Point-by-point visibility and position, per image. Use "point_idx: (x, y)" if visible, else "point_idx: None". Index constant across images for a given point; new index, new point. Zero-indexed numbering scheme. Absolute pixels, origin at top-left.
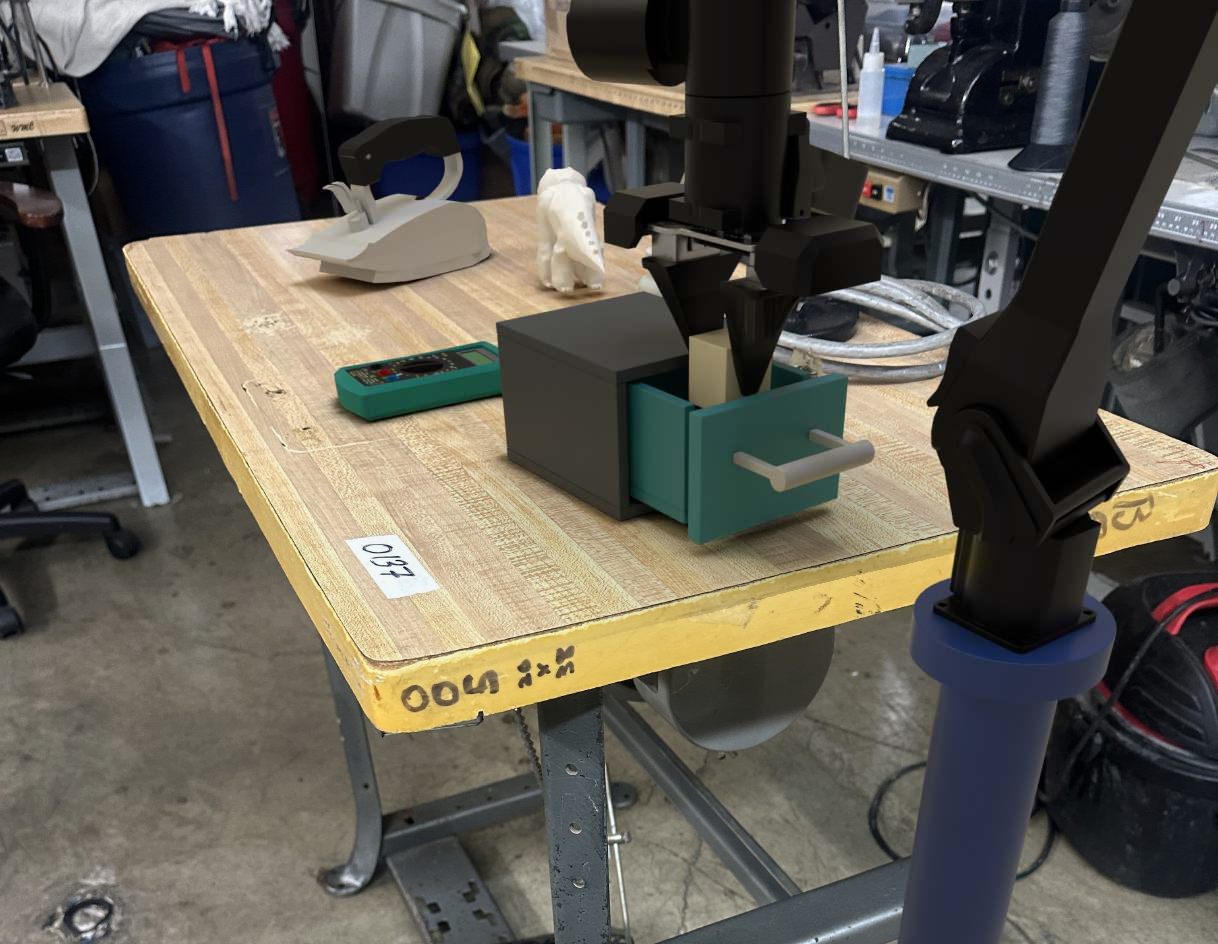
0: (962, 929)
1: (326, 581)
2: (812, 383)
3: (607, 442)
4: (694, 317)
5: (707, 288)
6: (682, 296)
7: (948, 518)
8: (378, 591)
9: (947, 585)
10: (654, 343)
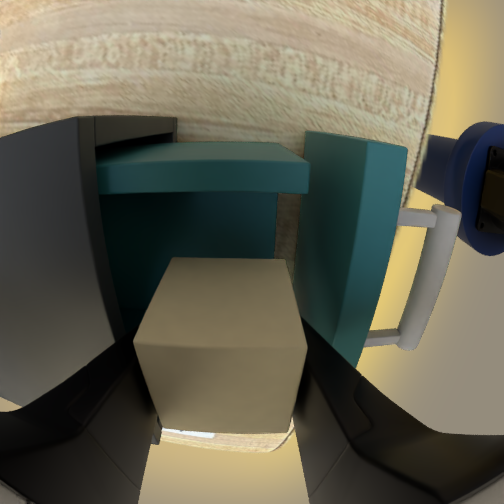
0: None
1: (174, 442)
2: (380, 242)
3: None
4: (142, 443)
5: (106, 469)
6: (136, 491)
7: (410, 66)
8: (200, 437)
9: (469, 186)
10: (50, 356)
